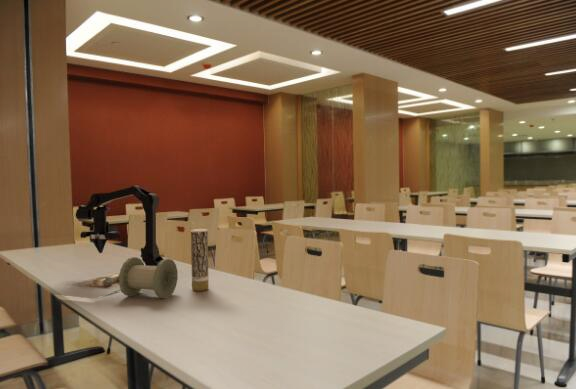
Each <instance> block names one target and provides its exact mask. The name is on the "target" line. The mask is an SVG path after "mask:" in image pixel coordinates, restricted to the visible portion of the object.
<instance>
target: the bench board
mask: <svg viewBox="0 0 576 389" xmlns="http://www.w3.org/2000/svg"><path fill="white" fill-rule="evenodd" d="M118 275H120V272H119V273H118ZM99 277H100V276H97V277H94V278H91V279H87V280H83V281H79V282H76V283H73V284H71V286H77V287H85V288H86V287H89V288H98V289H111V288H113V287H116V286H119V281H118V282H115V283H112V279H111V277H106V278H105V285H106V286H103V287H102V286H91V280H92V279H95V278H99Z"/></svg>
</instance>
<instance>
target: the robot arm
mask: <svg viewBox="0 0 576 389" xmlns="http://www.w3.org/2000/svg"><path fill="white" fill-rule="evenodd" d="M131 196H134V197H135V198H136V199H137V200H139V201H141V205H142V208H143V211H144V213H145V216H144V218H145V223H144V224H145V228H144V229H145V231H144V232H145V238H144V239H145V244H144V246H142V247H141V248H140V258H141V260H142V262H143V263H144V266H157V265H158V264H159V263H160V261H161V260H164V259H165V258H164V257H162V256H161V255H160V250H159V249H160V248H159V247H158V245H157V211H158V208H159V206H160V205H159V204H160V197H159V195H158V194H156V193H152V192H150V191H148V190H146V189H144V188H143V187H140V185H132V186H130V187H127V188H122V189H118V190H115V191H111V192H99V193H98V192H97V193H92V195H91V196H90V199H89V201H88V202H87V203H86V205H77V206H78V207H77V208H76V212H75V217H76V219H77V220H78V221H91V220H92V222H90V224H91V226H92V227H93V230H84V231H81V232H80V239H86V238H87V237H90V238H89V240H90V241H91V242H92V244H93V245H94V247H95V248H96V250H97V252H98V254H102V253H103V252H104V249H105V246H106V243H107V242H108V240H113V239H118V238H119V239H120V238H121V233H120V232H119V231H116V230H117V227H116V226H114V225H110V223H109V221H107V211H111V208H110V207H109V206H108V205H107V204H109V203H112V202H113V201H115V200H119V199H123V198H128V197H131Z"/></svg>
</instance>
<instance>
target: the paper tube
mask: <svg viewBox="0 0 576 389" xmlns="http://www.w3.org/2000/svg"><path fill="white" fill-rule="evenodd" d="M208 237H209V235H208V229H206V228H195V229H191V230H190V247H191V248H190V250H191V251H190V254H191V255H190V256H191V288H192V290H193V291H195V292H203V291H206V290H208V289H209V287H210V286H209V245H208V244H209V242H208V241H209V239H208Z"/></svg>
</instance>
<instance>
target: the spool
mask: <svg viewBox="0 0 576 389" xmlns="http://www.w3.org/2000/svg"><path fill="white" fill-rule="evenodd" d="M163 259H164V260H161V261H160V263H159V264H158V265H157V266H146V265H145V263H144V261H142V258H139V257H137V256H134V257H129V258H127V259H126V260H125V261H124V262H123V264H122V266H121V268H120V270H119V273H120V275H119V274H118V275H119V285H118V286H119V288H120V291H121V293H123V295H124V296H128V297H133V296H136V295H138V294H139V293H140V292H141V291H142V290H152V291H154V293H155V295H156V296H157V298H159V299H165V300H166V299H168V298H170V297H172V295H173V294H174V291H175V290H176V287H177V283H178V279H179V278H178V275H179V274H178V268H177V264H176V262H175V261H174V260H173V259H170V258H163Z"/></svg>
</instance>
